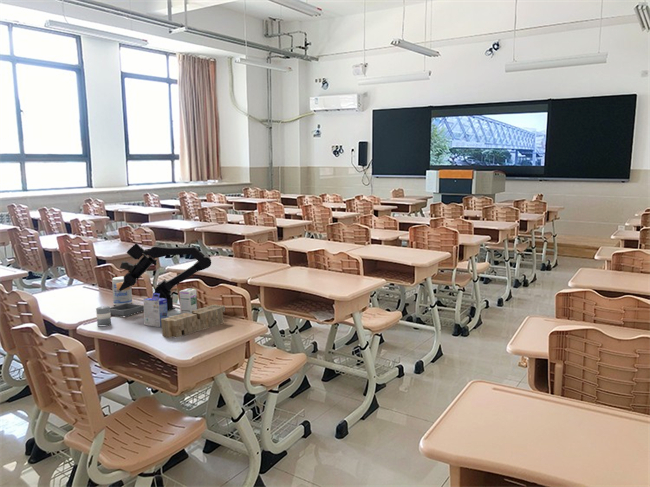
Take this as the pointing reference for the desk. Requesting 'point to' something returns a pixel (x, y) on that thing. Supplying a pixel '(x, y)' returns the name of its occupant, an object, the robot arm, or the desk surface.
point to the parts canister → (103, 315)
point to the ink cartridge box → (155, 310)
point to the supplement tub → (121, 293)
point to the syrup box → (188, 300)
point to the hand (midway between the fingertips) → (120, 289)
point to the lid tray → (126, 309)
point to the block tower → (192, 321)
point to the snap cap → (120, 286)
